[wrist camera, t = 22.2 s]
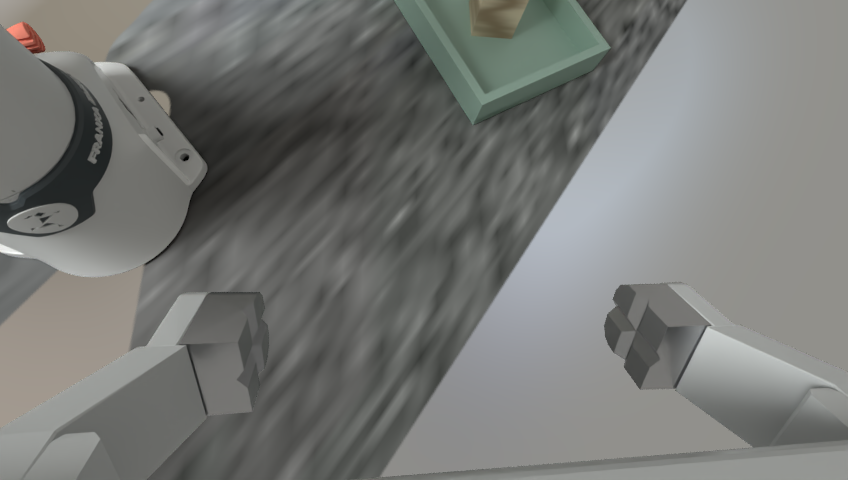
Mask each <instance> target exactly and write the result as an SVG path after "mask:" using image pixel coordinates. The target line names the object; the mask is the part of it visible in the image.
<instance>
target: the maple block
mask: <svg viewBox="0 0 848 480" xmlns="http://www.w3.org/2000/svg"><path fill="white" fill-rule="evenodd" d="M528 1H529V0H469V12H470V27H471V36H479V37H492V38H505V39H512V37H513V34H514V32H515V30H516V28H517V26H518V23H519V21H520V19H521V17H522V15H523V12H524V10H525V8H526V6H527V4H528Z"/></svg>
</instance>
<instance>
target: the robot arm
mask: <svg viewBox="0 0 848 480" xmlns="http://www.w3.org/2000/svg"><path fill="white" fill-rule="evenodd" d="M44 51H45V46H44V44H43V42H42V40H41V39H40V37H39V36H38V35H37V33H36V32H35V31H34V30H33V29H32V27H30V26H29V25H28V24H27V23H24V22H21V23H18V24H16V25H14V26H12V27H10V28H8V29H5V28H4V27H2V25H0V252H1V253H3V254H6V255H8V256H13V257H20V258H34V259H38V260H40V261H43V262H44V263H46V264H48V265H50V266H52V267H54V268H56V269H58V270H60V271H63V272H66V273H69V274H72V275H77V276H84V277H104V276H112V275H116V274H120V273H124V272H127V271H130V270H132V269H134V268H137V267H139V266H141V265H143V264H145V263H146V262H148V261H150V260H151V259H153V258H154V257H155V256H157V255H158V254H159V253H160V252H162V251H163V250H164V249H165V248H166V247H167V246H168V245H169V244H170V243H171V241H172V240H173V239H174V238H175V236H176V235H177V233H178V232H179V230H180V228H181V226H182V224H183V222H184V220H185V217H186V214H187V211H188V206H189V202H190V199H191V196H192V193H193V191H194V190H195V189H196V188H197V186H198V185H199V184H200V183H201V181H202V180H203V178H204V177H205V175H206V173H207V164H206V162H205V161H204V159H203V158H202V157H201V156H200V154H199V153H198V152H197V151H196V149H195V148H194V147H193V146H192V144H191V143H190V142H189V141H188V139H187V138H186V137H185V136H184V134H183V133H182V132H181V131H180V129H179V128H178V127H177V126H176V125H175V123H174V122H173V121H172V120H171V118H170V117H169V116H168V115H167V113H166V112H165V111H164V110H163V108H162V107H161V106H160V105H159V103H158V102H157V101H156V100H155V98H154V97H153V96H152V95H151V93H150V92H149V91H148V90H147V88H146V87H145V86H144V85H143V83H142V82H141V81H140V80H139V78H138V77H137V76H136V75H135V73H134V72H133V71H132V70H130V69H129V68H128V67H127V66H126V65H124V64H121V63H114V62H93V61H91V60H90V59H89V58H88V57H87V56H85V55H83V54H79V53H76V52H68V51H57V52H47V53H41V54H36V55H33V54H34V53H40V52H44ZM185 157H189V159H188V160H187V161H183V159H184V158H185ZM613 300H614V303H615V305H616V307H615V308H614V309H613V310H612V311H610V312H609V313H608V314H607V318H606V322H605V325H604V327H605V337H606V340H607V342H608V345H609V346H610V348H611V349H612V351H613V352H614V353H615V354H617V355H618V356H620V357H622V358H623V359H625V363H624V368H625V369H626V371H627V372H628V373H629V375H630V376H631V378H632V379H633V380H634V382H635V383H636V385H637V386H638V387H639V389H642V390H643V389H676V390H675V391H677V392H678V393H679V394H681V395H682V396H684V397H685V398H686V399H688V400H689V401H690V402H692V403H693V404H695V405H696V406H697V407H699V408H700V409H702V410H703V411H704V412H706V413H707V414H708V415H710V416H711V417H712V418H714V419H715V420H717V421H718V422H719V423H721V424H722V425H724V426H725V427H726V428H728V429H729V430H731V431H732V432H733V433H735V434H736V435H737V436H739V437H740V438H741V439H743V440H744V441H746V442H747V443H748V444H750V445H751V446H752V447H754V448H742V449H730V450H717V451H704V452H693V453H680V454H667V455H655V456H642V457H631V458H617V459H605V460H592V461H580V462H568V463H555V464H542V465H529V466H518V467H506V468H492V469H480V470H467V471H454V472H443V473H429V474H417V475H405V476H392V477H380V478H367V479H355V480H848V372H847V371H845V370H843V369H841V368H838V367H836V366H834V365H831V364H829V363H827V362H825V361H822V360H820V359H817V358H815V357H813V356H811V355H809V354H806V353H804V352H802V351H799V350H797V349H795V348H792V347H790V346H788V345H786V344H783V343H781V342H779V341H777V340H774V339H772V338H770V337H767V336H765V335H763V334H760V333H758V332H756V331H754V330H751V329H749V328H747V327H745V326H742V325H734V324H733V323H732V322H731V321H729V320H728V319H727V318H726V317H725V316H724V315H722V314H721V313H720V312H719V311H718V310H717V309H716V308H714V307H713V306H712V305H711V304H710V303H709V302H708V301H706V300H705V299H704V298H703V297H702V296H701V295H699V294H698V293H697V292H696V291H695V290H694V289H692V288H691V287H690V286H689V285H687V284H684V283H682V282H672V283H660V284H634V285H620V286H619V288H618V289H617V290H616V292H615V294H614V297H613ZM264 309H265V306H264V301H263V296H262V294H261V293H260V292H210V293H209V292H189V293H183V294H181V295H180V296H179V297H178V299H177V300H176V302H175V303H174V305H173V306H172V308H171V309H170V311H169V312H168V314H167V315H166V317H165V318H164V320H163V321H162V323H161V325H160V326H159V328H158V329H157V331H156V332H155V334H154V335H153V337H152V338H151V340H150V341H149V343H148V344H147V346H146V347H137V348H135V349H133V350H132V351H130V352H128V353H127V354H125V355H123V356H122V357H120V358H118V359H116V360H115V361H113V362H111V363H110V364H108V365H106V366H105V367H103V368H101V369H100V370H98V371H96V372H95V373H93V374H91V375H89V376H88V377H86V378H84V379H83V380H81V381H79V382H78V383H76V384H74V385H73V386H71V387H69V388H67V389H66V390H64V391H62V392H61V393H59V394H57V395H56V396H54V397H52V398H51V399H49V400H47V401H45V402H44V403H42V404H40V405H39V406H37V407H35V408H34V409H32V410H30V411H29V412H27V413H25V414H24V415H22V416H20V417H19V418H17V419H15V420H13V421H12V422H10V423H8V424H7V425H5V426H3V427H2V428H0V480H146V479H147V478H148V477H149V476H150V475H151V474H152V473H153V472H154V471H155V470H156V469H157V468H158V467H159V466H160V465H161V464H162V463H163V462H164V461H165V460H166V459H167V458H168V457H169V456H170V455H171V454H172V453H173V452H174V451H175V450H176V449H177V448H178V447H179V446H180V445H181V444H182V443H183V442H184V441H185V440H186V439H187V438H188V437H189V436H190V435H191V434H192V433H193V432H194V431H195V430H196V429H197V428H198V427H199V426H200V425H201V423H202V422H203V421H204V420H205V419H206V418H207V416H208V415H219V414H231V413H243V412H252V411H253V408H254V404H255V401H256V397H257V394H258V390H259V387H260V381H259V376H258V374H259V373H260V372H261V371H262V370H263V369H264V368H265V366H266V362H267V358H268V349H269V332H268V325H267V324H266V323H265V322H264V321H263V320H262V319H261V318H262V315H263V312H264Z"/></svg>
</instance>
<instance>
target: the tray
mask: <svg viewBox="0 0 848 480" xmlns="http://www.w3.org/2000/svg"><path fill="white" fill-rule="evenodd" d="M394 1H395V3H396V5H397V6H398V8H399V9H400V11H401V13H402V14H403V16H404V17H405V19H406V20H407V22H408V24H409V25H410V27H411V28H412V30H413V31H414V33H415V35H416V36H417V38H418V39H419V41H420V43H421V44H422V46H423V47H424V49H425V50H426V52H427V54H428V55H429V57H430V58H431V60H432V61H433V63H434V65H435V66H436V68H437V69H438V71H439V73H440V74H441V76H442V77H443V79H444V80H445V82H446V84H447V85H448V87H449V88H450V90H451V91H452V93H453V95H454V96H455V98H456V99H457V101H458V103H459V104H460V106H461V107H462V109H463V110H464V112H465V114H466V115H467V117H468V118H469V120H470V121H471V123H472V125H475V124H477V123H479V122H481V121H483V120H485V119H488V118H490V117H492V116H494V115H496V114H499V113H501V112H503V111H505V110H507V109H510V108H512V107H514V106H516V105H518V104H521V103H523V102H525V101H527V100H529V99H532V98H534V97H536V96H538V95H540V94H543V93H545V92H547V91H549V90H551V89H553V88H556V87H558V86H560V85H562V84H564V83H567V82H569V81H571V80H573V79H575V78H578V77H580V76H582V75H584V74H586V73H589V72H591V71H593V70H594V68H595V67H596V66H597V65H598V63H599V62H600V61H601V60H602V58H603V57H604V56H605V55H606V53H607V52H608V51H609V50H610V46H609V45H608V43H607V42H606V41H605V39H604V38H603V37H602V35H601V34H600V33H599V31H598V30H597V28H596V27H595V26H594V24H593V23H592V22H591V20H590V19H589V18H588V16H587V15H586V13H585V12H584V11H583V9H582V8H581V7H580V5H579V4H578V2H577V1H576V0H529V1H528V4H527V6H526V8H525V10H524V12H523V15H522V17H521V19H520V21H519V23H518V26H517V28H516V30H515V32H514V34H513V37H512V39H505V38H492V37H479V36H471V27H470V12H469V0H394Z"/></svg>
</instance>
